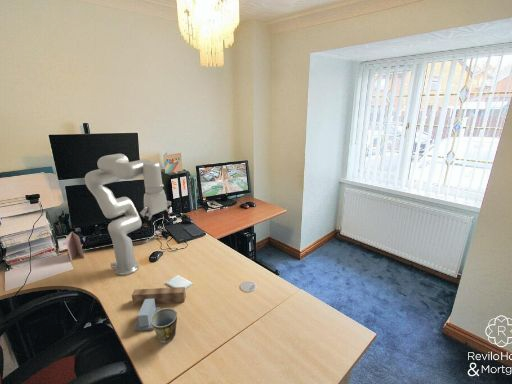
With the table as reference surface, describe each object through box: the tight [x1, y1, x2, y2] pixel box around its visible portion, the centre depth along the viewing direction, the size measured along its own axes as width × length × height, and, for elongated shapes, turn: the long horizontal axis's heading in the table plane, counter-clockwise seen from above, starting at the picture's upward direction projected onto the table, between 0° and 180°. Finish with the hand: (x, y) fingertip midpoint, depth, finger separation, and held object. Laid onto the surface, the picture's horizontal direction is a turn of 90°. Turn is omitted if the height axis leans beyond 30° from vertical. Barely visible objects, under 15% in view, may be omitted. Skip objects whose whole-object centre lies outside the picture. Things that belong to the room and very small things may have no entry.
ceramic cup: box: [151, 307, 178, 344], centre depth 106 cm, size 13×10×10 cm
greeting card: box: [65, 231, 85, 262], centre depth 164 cm, size 11×7×15 cm, turn 17°
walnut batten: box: [131, 287, 187, 306], centre depth 128 cm, size 24×4×6 cm, turn 95°
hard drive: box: [165, 274, 194, 291], centre depth 141 cm, size 2×8×12 cm
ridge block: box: [133, 299, 162, 332], centre depth 116 cm, size 8×12×7 cm, turn 4°
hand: (158, 222), depth 126 cm, fingers open, 9 cm apart
